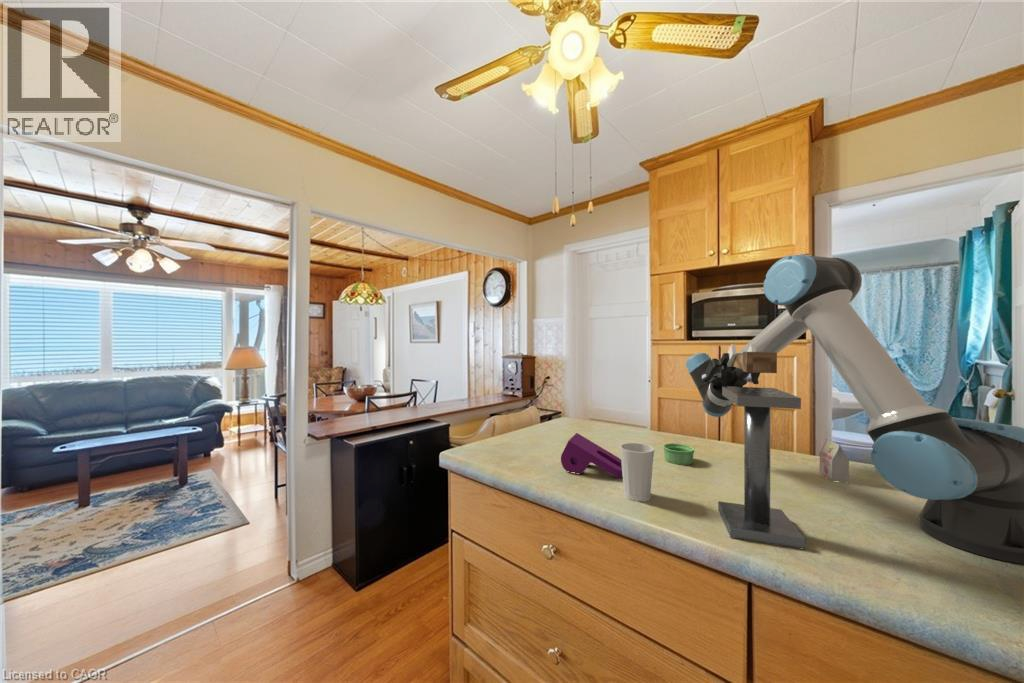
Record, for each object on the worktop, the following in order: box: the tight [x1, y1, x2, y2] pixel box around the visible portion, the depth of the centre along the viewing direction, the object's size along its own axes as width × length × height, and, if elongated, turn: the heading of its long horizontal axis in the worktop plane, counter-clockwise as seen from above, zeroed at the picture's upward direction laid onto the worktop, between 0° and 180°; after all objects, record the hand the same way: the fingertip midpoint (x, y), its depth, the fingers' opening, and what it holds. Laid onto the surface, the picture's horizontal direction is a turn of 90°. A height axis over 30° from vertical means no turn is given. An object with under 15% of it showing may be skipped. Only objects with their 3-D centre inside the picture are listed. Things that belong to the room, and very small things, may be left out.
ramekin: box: [663, 442, 695, 466], centre depth 115 cm, size 9×9×4 cm
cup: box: [619, 442, 655, 502], centre depth 90 cm, size 8×8×12 cm
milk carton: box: [819, 438, 850, 483], centre depth 100 cm, size 4×7×10 cm, turn 161°
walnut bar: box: [731, 352, 778, 374], centre depth 81 cm, size 22×5×4 cm, turn 160°
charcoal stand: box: [717, 386, 806, 550], centre depth 74 cm, size 15×12×28 cm
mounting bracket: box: [560, 432, 623, 479], centre depth 107 cm, size 10×8×18 cm
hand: (743, 349), depth 83 cm, fingers closed on walnut bar, 3 cm apart
